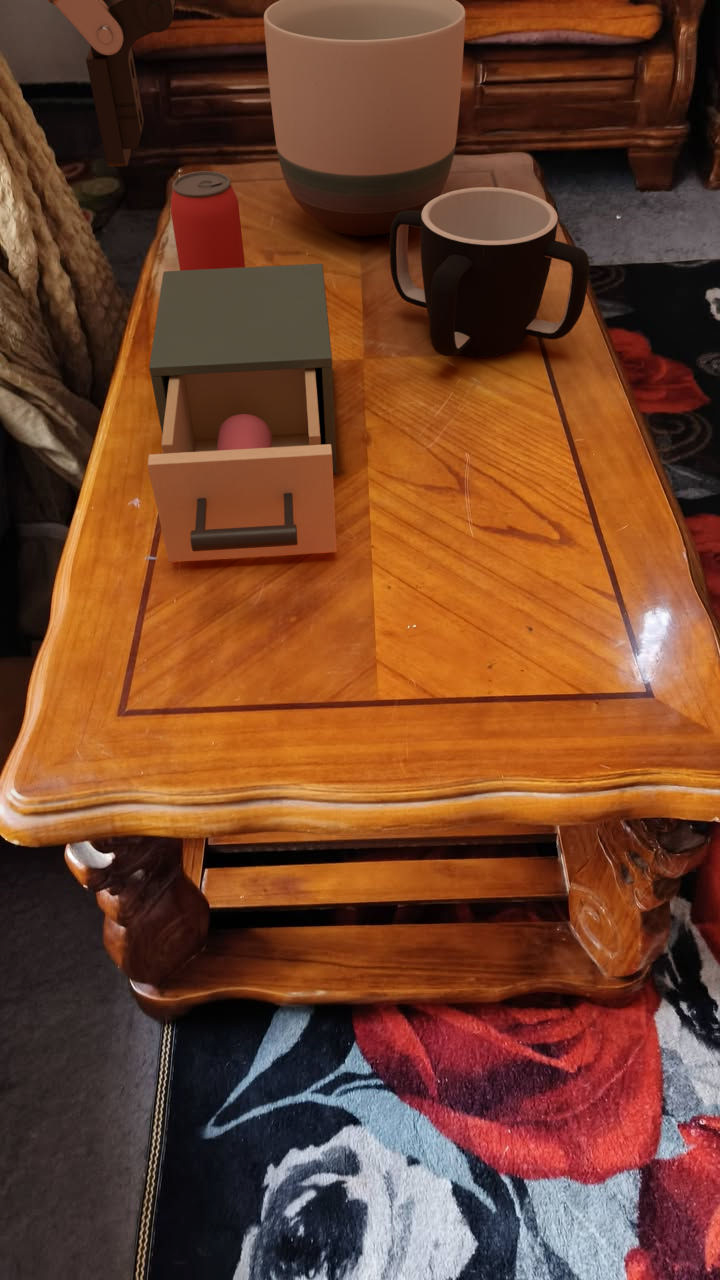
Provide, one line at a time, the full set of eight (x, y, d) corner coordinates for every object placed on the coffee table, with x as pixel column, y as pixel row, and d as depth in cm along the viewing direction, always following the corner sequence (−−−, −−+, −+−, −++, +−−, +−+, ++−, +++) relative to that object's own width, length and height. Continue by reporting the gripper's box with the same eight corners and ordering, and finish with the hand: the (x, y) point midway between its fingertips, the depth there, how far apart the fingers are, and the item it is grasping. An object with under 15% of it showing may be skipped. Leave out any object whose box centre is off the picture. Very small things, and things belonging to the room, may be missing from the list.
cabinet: (336, 473, 79) (331, 357, 71) (171, 482, 78) (148, 367, 71) (327, 372, 90) (322, 263, 82) (182, 380, 89) (163, 270, 81)
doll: (212, 449, 76) (205, 514, 71) (227, 406, 74) (221, 471, 68) (262, 464, 78) (259, 529, 72) (279, 423, 75) (277, 487, 69)
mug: (584, 372, 89) (606, 244, 80) (415, 389, 88) (418, 261, 79) (535, 290, 100) (550, 170, 91) (384, 304, 99) (384, 184, 90)
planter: (262, 258, 106) (242, 37, 91) (299, 185, 120) (286, -17, 105) (445, 268, 104) (456, 43, 88) (461, 193, 118) (473, -13, 102)
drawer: (340, 598, 68) (336, 499, 61) (164, 609, 67) (141, 510, 61) (327, 439, 81) (322, 344, 74) (179, 447, 80) (162, 352, 74)
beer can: (253, 311, 98) (240, 191, 89) (189, 320, 97) (170, 199, 88) (243, 282, 102) (230, 165, 94) (182, 290, 101) (163, 172, 93)
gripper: (-538, -503, 22) (-216, 214, 34) (90, -515, 22) (190, 195, 34) (-386, -477, 27) (-153, 137, 39) (121, -487, 28) (199, 121, 39)
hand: (8, 164), depth 36 cm, fingers open, 8 cm apart
